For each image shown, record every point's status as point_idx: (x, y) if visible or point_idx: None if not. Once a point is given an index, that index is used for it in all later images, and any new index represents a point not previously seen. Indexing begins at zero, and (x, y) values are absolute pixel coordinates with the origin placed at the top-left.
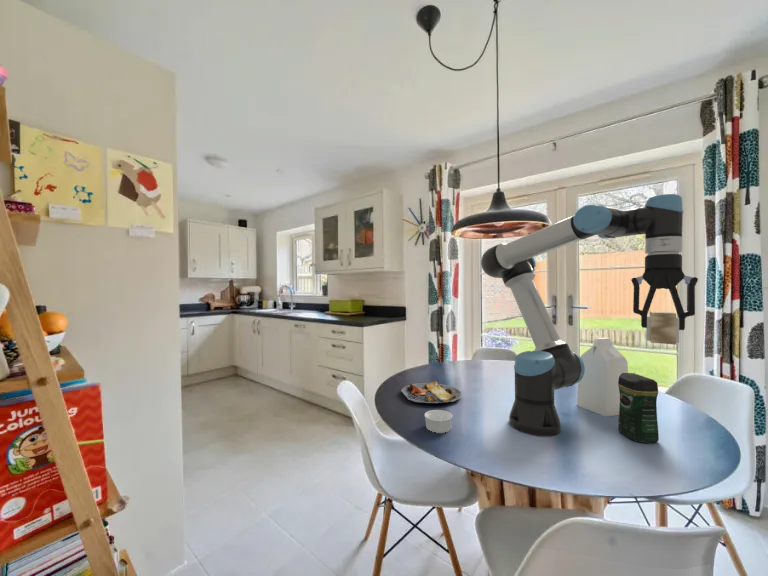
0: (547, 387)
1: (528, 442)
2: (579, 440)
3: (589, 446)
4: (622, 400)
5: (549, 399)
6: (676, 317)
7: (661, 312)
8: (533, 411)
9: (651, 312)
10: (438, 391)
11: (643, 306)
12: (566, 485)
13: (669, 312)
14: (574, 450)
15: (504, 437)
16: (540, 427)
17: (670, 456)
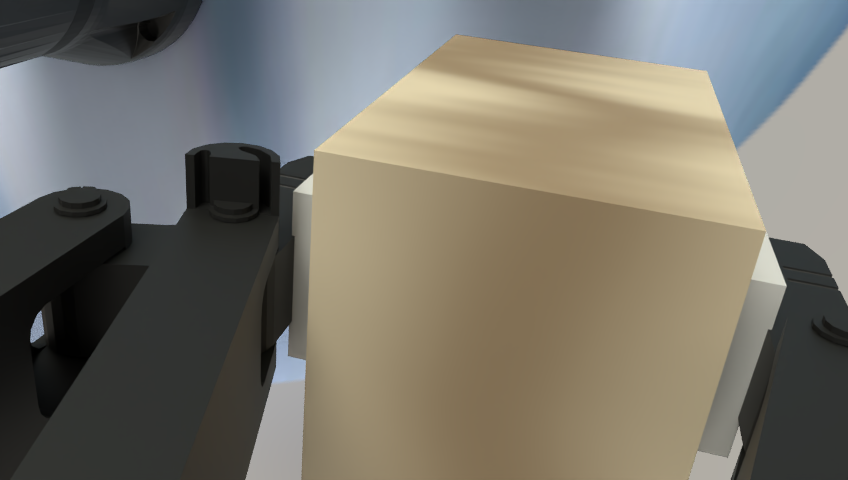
0: (10, 46)
1: (129, 139)
2: (291, 18)
3: (329, 64)
4: None
5: (68, 21)
6: (732, 352)
7: (473, 408)
8: (54, 56)
9: (310, 457)
10: None
11: (144, 275)
12: (280, 373)
13: (631, 354)
14: (281, 133)
15: (48, 135)
16: (128, 60)
17: (639, 3)
